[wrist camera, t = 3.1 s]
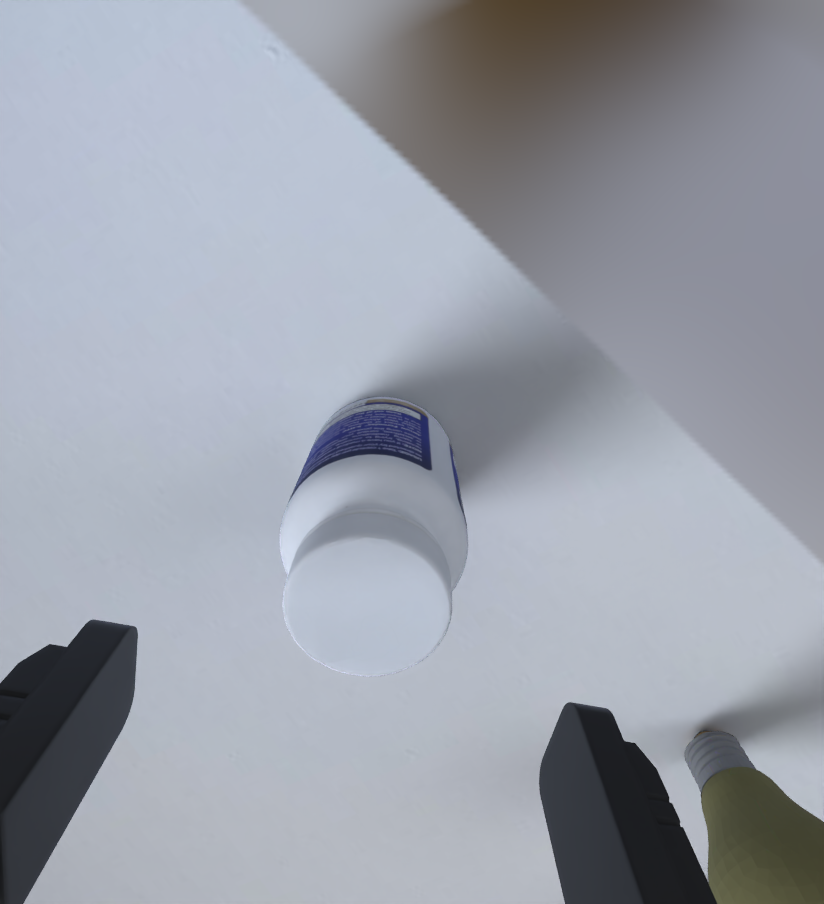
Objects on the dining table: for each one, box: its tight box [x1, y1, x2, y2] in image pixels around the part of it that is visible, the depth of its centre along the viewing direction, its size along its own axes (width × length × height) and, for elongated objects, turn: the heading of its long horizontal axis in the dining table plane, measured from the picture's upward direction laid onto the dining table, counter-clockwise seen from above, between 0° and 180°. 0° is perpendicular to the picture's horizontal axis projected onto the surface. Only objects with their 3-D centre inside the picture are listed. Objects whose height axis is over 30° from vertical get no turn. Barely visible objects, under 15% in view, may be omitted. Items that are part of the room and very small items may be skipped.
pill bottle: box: [280, 397, 468, 676], centre depth 18 cm, size 5×5×9 cm
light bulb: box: [685, 731, 824, 904], centre depth 22 cm, size 6×6×10 cm
